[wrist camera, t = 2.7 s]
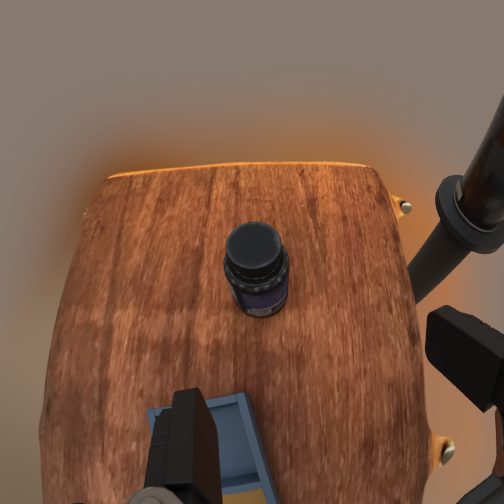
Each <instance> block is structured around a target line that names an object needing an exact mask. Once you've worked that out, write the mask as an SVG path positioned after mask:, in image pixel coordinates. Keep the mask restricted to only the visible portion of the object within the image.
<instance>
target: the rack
mask: <svg viewBox="0 0 504 504" xmlns="http://www.w3.org/2000/svg"><path fill="white" fill-rule="evenodd" d="M205 402H206V404H207V406H208V408H209V410H210V412H211V415H212V417H213V419H214V421H215V424H216V428H217V432H218V443H219V459H220V473H221V486H222V498H223V504H281V502H280V499H279V496H278V492H277V489H276V486H275V483H274V480H273V476H272V473H271V470H270V467H269V463H268V460H267V457H266V453H265V450H264V446H263V443H262V440H261V436H260V433H259V429H258V426H257V422H256V419H255V415H254V411H253V408H252V404H251V400H250V397H249V394H247V393H245V392H241V393H236V394H232V395H228V396H223V397H218V398H213V399H208V400H205ZM167 408H172V406H168V407H161V408H154V409H147V410H146V411H147V416H148V421H149V425H150V430H151V434H152V433H153V427H154V422H155V420H156V418H157V417H158V415H159V414H160V412H161V411H162V410H163V409H167ZM152 436H153V434H152Z"/></svg>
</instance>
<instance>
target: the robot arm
mask: <svg viewBox="0 0 504 504" xmlns="http://www.w3.org/2000/svg"><path fill="white" fill-rule="evenodd" d="M453 203H454V206H455V209H456V211H457V212H458V214H459V216H460V217H461V218H462V219H463V221H464V222H465V223H466V224H467V225H468V226H470V227H471V228H472V229H474V230H476V231H478V232H480V233H484V234H489V233H492V232H493V231H494V230H495V229H496V228H497V227H498V225H499V224H500V222H501V221H502V220H503V219H504V95H503V96H502V99H501V101H500V103H499V106H498V108H497V110H496V113H495V115H494V118H493V120H492V122H491V124H490V126H489V128H488V130H487V133H486V135H485V137H484V139H483V141H482V143H481V145H480V147H479V149H478V151H477V153H476V155H475V156H474V158H473V160H472V162H471V164H470V166H469V168H468V169H467V171H466V173H465V175H464V176H463V178H462V180H461V181H459V180H458V182H457V184H456V189H455V190H454V193H453ZM425 353H426V356H427V359H428V360H429V362H430V363H431V364H432V365H433V366H434V367H435V368H436V369H437V370H438V371H440V372H441V373H442V374H443V375H444V376H445V377H446V378H447V379H448V380H449V381H450V382H451V383H452V384H453V385H455V386H456V387H457V388H458V389H459V390H460V391H461V392H462V393H463V394H464V395H465V396H466V397H467V398H468V399H469V400H471V402H473V403H474V404H475V405H476V406H477V407H478V408H479V409H480V410H481V411H482V412H483V413H484V412H486V411H487V410H488V409H490V408H491V407H492V406H493V405H495V406H496V407H497V409H496V412H495V422H496V449H497V450H496V453H497V455H496V461H495V465H494V467H493V470H492V474H491V475H490V476H489V477H488V478H486V479H485V480H484V481H483V482H481V483H480V484H479V485H477V486H476V487H475V488H473V489H472V490H471V491H469V492H468V493H467V494H465V495H464V496H463V497H462V498H461V499H460V500H459V501H458V502H457V503H456V504H504V334H502V333H500V332H499V331H497V330H496V329H494V328H491V327H490V326H489V325H487V324H486V323H483V321H481V320H480V319H478V318H476V317H475V316H473V315H469V314H465V313H462V312H459V311H457V310H456V309H454V308H453V307H451V306H449V305H444V306H442V307H440V308H438V309H436V310H434V311H432V312H430V313H429V314H428V316H427V328H426V342H425ZM152 434H153V436H152V439H151V447H150V450H149V456H148V463H147V469H146V476H145V483H144V487H143V489H142V490H140V491H138V492H136V493H135V494H134V495H133V496H132V497H131V498H130V500H129V501H128V504H223V498H222V486H221V473H220V459H219V443H218V432H217V428H216V424H215V421H214V419H213V417H212V415H211V412H210V410H209V408H208V406H207V404H206V402H205V400H204V398H203V396H202V393H201V391H200V390H199V388H192V389H186V390H181V391H175V392H174V395H173V402H172V408H167V409H163V410H162V411H161V412H160V414H159V415H158V417H157V418H156V420H155V422H154V427H153V433H152ZM74 504H84V503H74Z"/></svg>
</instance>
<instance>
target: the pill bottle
mask: <svg viewBox="0 0 504 504" xmlns="http://www.w3.org/2000/svg"><path fill="white" fill-rule="evenodd" d="M224 271H225V275H226V277H227V280H228V282H229V285H230V287H231V290H232V293H233V295H234V298H235V301H236V303H237V305H238V306H239V308H240V309H242V311H244V312H245V313H246V314H248V315H250V316H253V317H260V318H261V317H268V316H271V315H273V314H275V313H276V312H278V311H279V310H280V309H281V308H282V307H283V306H284V304H285V302H286V300H287V296H288V278H289V257H288V254H287V251H286V249H285V247H284V246H283V245H282V244H281V239H280V236H279V234H278V232H277V231H276V230H275V229H274V228H273V227H271V226H270V225H268V224H265V223H262V222H248V223H244V224H242V225H240V226H238V227H237V228H235V229H234V230H233V231H232V232H231V234H230V235H229V237H228V239H227V242H226V255H225V258H224Z"/></svg>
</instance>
